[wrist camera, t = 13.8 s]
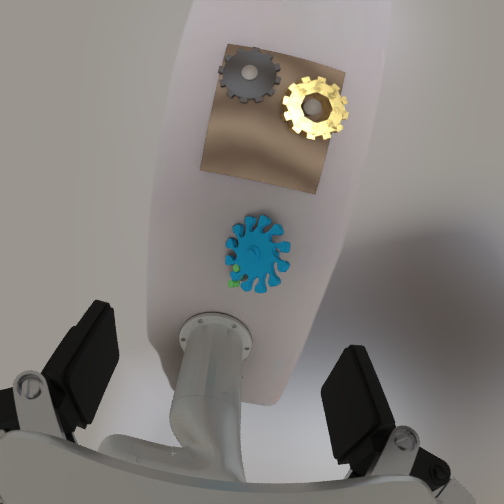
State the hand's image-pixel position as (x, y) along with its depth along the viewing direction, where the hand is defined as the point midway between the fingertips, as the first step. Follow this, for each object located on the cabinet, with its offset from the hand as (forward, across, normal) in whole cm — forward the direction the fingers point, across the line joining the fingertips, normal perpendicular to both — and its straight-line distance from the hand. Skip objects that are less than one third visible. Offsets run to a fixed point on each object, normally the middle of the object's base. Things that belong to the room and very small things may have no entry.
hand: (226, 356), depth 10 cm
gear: (+29, -3, +7) cm, 30 cm away
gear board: (+28, -2, -10) cm, 30 cm away
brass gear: (+27, -6, -12) cm, 30 cm away
